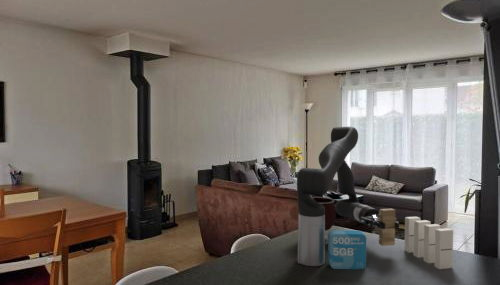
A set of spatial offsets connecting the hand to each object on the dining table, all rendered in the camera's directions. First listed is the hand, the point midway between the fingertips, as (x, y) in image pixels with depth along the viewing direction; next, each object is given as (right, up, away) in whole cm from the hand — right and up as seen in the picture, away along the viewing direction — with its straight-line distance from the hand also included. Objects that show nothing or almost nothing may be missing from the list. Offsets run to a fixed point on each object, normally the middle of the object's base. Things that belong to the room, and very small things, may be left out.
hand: (391, 226), depth 135 cm
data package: (-18, -13, -7) cm, 23 cm away
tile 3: (+12, -12, +3) cm, 17 cm away
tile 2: (+11, -11, +8) cm, 18 cm away
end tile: (+15, -12, -8) cm, 21 cm away
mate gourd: (-23, -11, +23) cm, 34 cm away
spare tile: (-1, -7, +3) cm, 8 cm away
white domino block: (+13, -12, -3) cm, 18 cm away
